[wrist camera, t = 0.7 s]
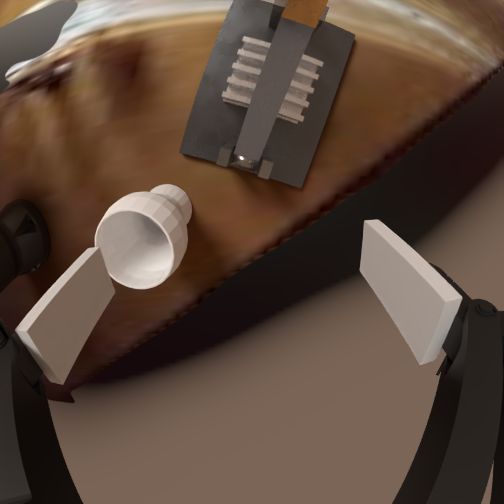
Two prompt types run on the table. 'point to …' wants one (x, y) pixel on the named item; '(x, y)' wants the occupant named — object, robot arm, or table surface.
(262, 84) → the strap
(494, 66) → the table surface
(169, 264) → the cup
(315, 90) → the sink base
